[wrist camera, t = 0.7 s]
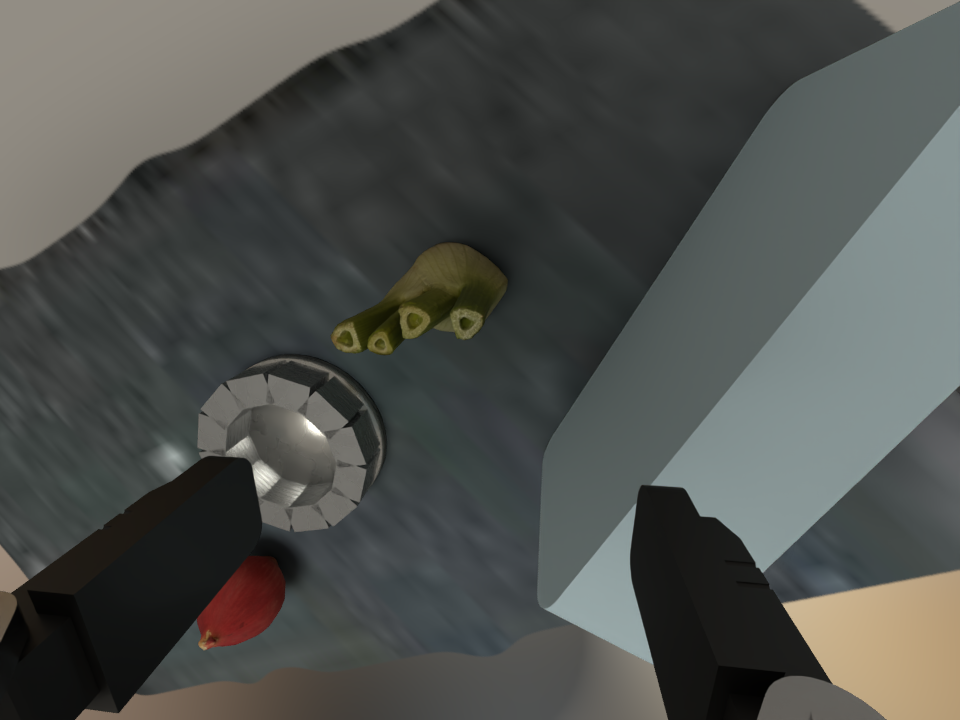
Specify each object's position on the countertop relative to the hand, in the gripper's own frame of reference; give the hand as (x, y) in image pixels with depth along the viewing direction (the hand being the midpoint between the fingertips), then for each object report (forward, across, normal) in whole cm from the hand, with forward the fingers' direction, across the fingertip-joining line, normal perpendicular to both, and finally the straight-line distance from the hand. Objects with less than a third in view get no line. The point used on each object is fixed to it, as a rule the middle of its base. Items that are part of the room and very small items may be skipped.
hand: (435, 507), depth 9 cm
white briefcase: (+19, -10, 0) cm, 22 cm away
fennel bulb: (+19, +2, -2) cm, 20 cm away
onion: (+20, +19, +22) cm, 36 cm away
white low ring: (+20, +14, +10) cm, 26 cm away
